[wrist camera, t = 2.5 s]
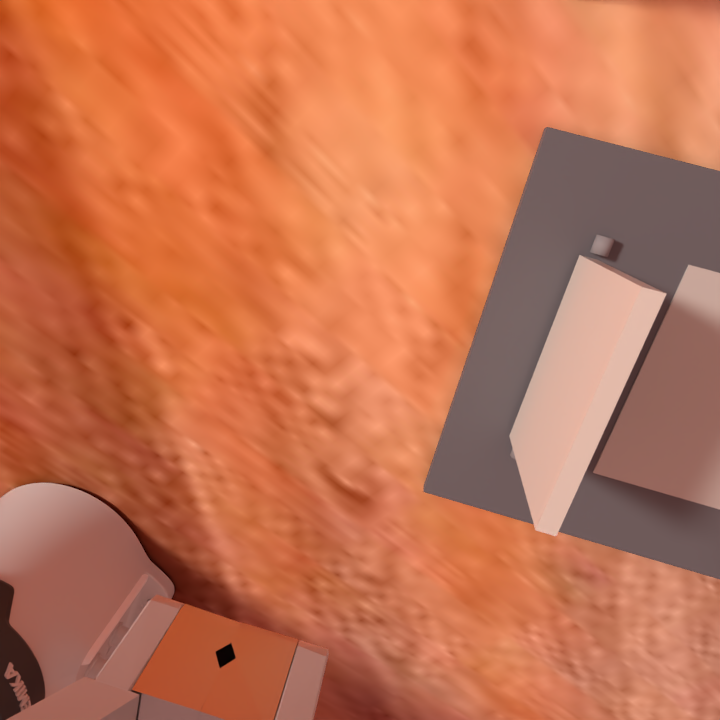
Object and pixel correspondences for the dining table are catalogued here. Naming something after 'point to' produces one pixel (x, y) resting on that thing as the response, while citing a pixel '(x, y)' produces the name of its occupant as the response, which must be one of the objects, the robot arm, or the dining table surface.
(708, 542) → the board
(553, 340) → the tile
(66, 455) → the dining table surface
